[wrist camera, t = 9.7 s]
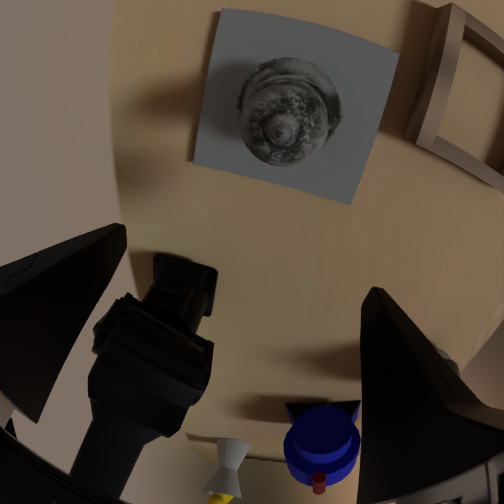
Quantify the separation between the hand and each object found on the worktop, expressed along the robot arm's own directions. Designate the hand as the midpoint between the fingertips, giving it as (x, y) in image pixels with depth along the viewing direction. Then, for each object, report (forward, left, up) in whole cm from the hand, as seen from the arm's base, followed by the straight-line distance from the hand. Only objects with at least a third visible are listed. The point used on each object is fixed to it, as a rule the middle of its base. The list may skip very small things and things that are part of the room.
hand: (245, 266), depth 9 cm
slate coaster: (+4, 0, -13) cm, 13 cm away
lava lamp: (-67, -7, -13) cm, 68 cm away
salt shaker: (+4, 0, -12) cm, 13 cm away
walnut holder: (+10, -14, -13) cm, 22 cm away
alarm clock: (-37, -18, -13) cm, 43 cm away
